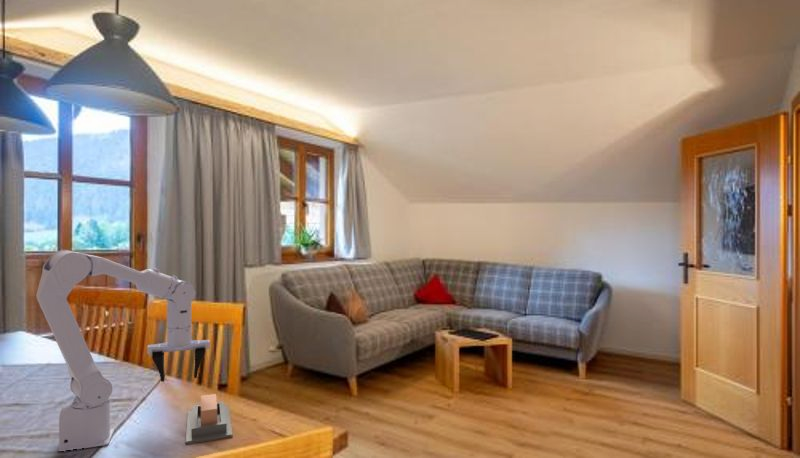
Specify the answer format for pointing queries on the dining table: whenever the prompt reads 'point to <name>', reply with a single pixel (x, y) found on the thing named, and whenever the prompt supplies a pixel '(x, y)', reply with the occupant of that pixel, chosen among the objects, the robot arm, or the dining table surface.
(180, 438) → the dining table surface
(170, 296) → the robot arm
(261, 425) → the dining table surface
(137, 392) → the dining table surface
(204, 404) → the terracotta bar
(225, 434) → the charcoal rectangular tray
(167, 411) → the dining table surface
